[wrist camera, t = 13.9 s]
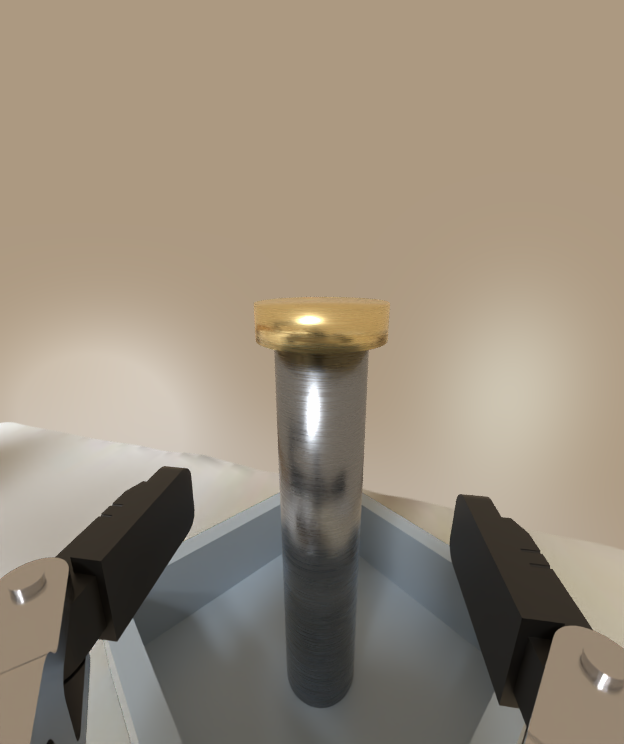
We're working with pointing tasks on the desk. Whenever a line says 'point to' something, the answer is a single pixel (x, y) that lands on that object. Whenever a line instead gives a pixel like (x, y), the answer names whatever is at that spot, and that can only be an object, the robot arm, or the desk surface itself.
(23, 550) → the desk surface
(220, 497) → the desk surface
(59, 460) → the desk surface
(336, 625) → the lock pin
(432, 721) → the pin tray
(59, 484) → the desk surface
